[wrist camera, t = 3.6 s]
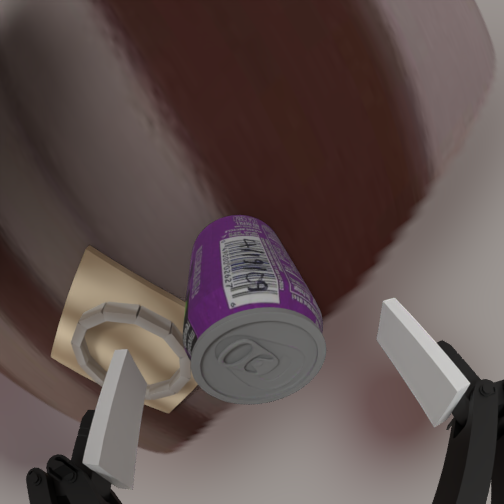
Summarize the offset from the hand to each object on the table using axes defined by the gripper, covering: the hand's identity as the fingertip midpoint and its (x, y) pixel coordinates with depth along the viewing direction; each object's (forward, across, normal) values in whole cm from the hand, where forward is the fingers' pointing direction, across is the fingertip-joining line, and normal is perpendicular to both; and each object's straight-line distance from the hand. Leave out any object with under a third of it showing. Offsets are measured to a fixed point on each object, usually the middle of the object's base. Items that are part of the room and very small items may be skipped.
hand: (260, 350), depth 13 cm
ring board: (+11, -12, -8) cm, 18 cm away
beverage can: (+11, 0, 0) cm, 11 cm away
